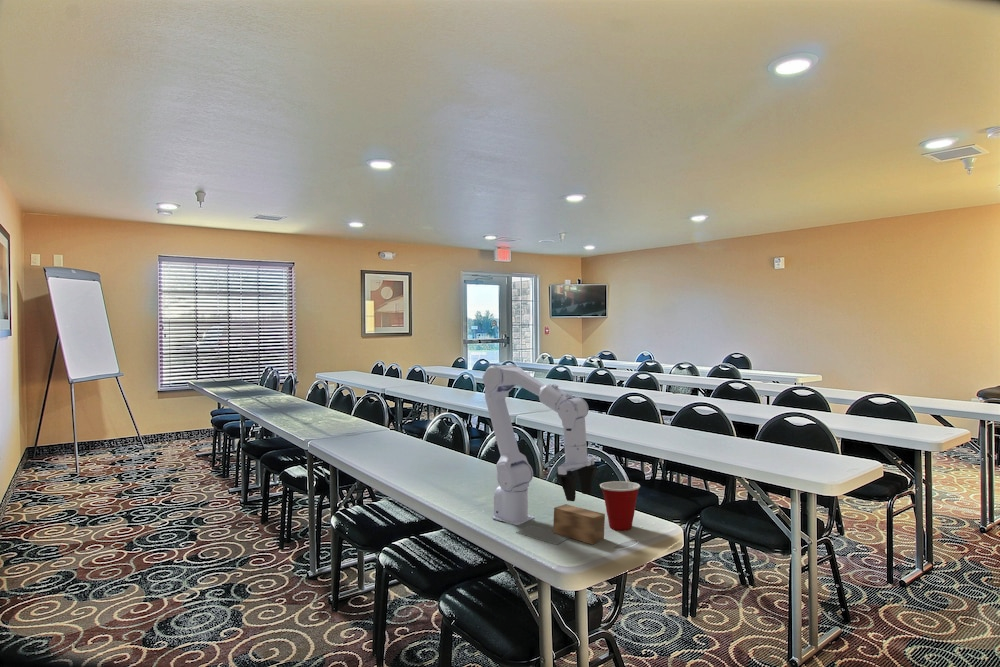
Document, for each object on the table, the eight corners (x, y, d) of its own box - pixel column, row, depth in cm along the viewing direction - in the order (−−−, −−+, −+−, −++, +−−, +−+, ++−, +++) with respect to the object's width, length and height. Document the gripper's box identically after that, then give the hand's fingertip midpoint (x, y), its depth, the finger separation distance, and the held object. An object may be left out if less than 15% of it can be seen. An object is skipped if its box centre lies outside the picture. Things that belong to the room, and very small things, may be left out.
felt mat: (515, 533, 146) (515, 532, 146) (531, 526, 152) (531, 524, 152) (556, 545, 138) (556, 544, 138) (572, 537, 144) (572, 536, 143)
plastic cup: (622, 518, 158) (621, 476, 158) (648, 530, 149) (648, 485, 148) (591, 525, 153) (591, 481, 153) (617, 537, 143) (617, 491, 143)
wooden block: (553, 532, 146) (554, 507, 146) (564, 528, 150) (565, 504, 150) (592, 544, 138) (593, 518, 138) (603, 539, 142) (604, 514, 142)
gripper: (573, 450, 136) (576, 506, 136) (602, 441, 147) (606, 492, 147) (549, 448, 141) (553, 502, 140) (580, 439, 152) (583, 489, 151)
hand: (578, 497), depth 144 cm, fingers open, 7 cm apart
